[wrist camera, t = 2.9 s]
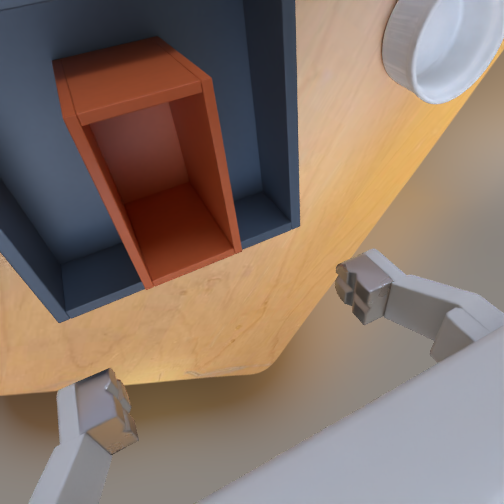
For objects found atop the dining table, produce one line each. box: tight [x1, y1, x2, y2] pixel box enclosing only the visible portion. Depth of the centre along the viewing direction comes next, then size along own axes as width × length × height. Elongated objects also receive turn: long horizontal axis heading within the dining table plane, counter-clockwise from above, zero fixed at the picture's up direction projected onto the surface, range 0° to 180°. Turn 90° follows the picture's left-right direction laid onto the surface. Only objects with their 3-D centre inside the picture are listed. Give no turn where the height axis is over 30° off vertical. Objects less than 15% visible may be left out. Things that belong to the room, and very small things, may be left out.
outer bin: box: [0, 0, 300, 323], centre depth 22 cm, size 19×18×6 cm
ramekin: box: [382, 0, 504, 104], centre depth 28 cm, size 9×9×4 cm
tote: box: [52, 36, 242, 290], centre depth 21 cm, size 6×10×9 cm, turn 8°
